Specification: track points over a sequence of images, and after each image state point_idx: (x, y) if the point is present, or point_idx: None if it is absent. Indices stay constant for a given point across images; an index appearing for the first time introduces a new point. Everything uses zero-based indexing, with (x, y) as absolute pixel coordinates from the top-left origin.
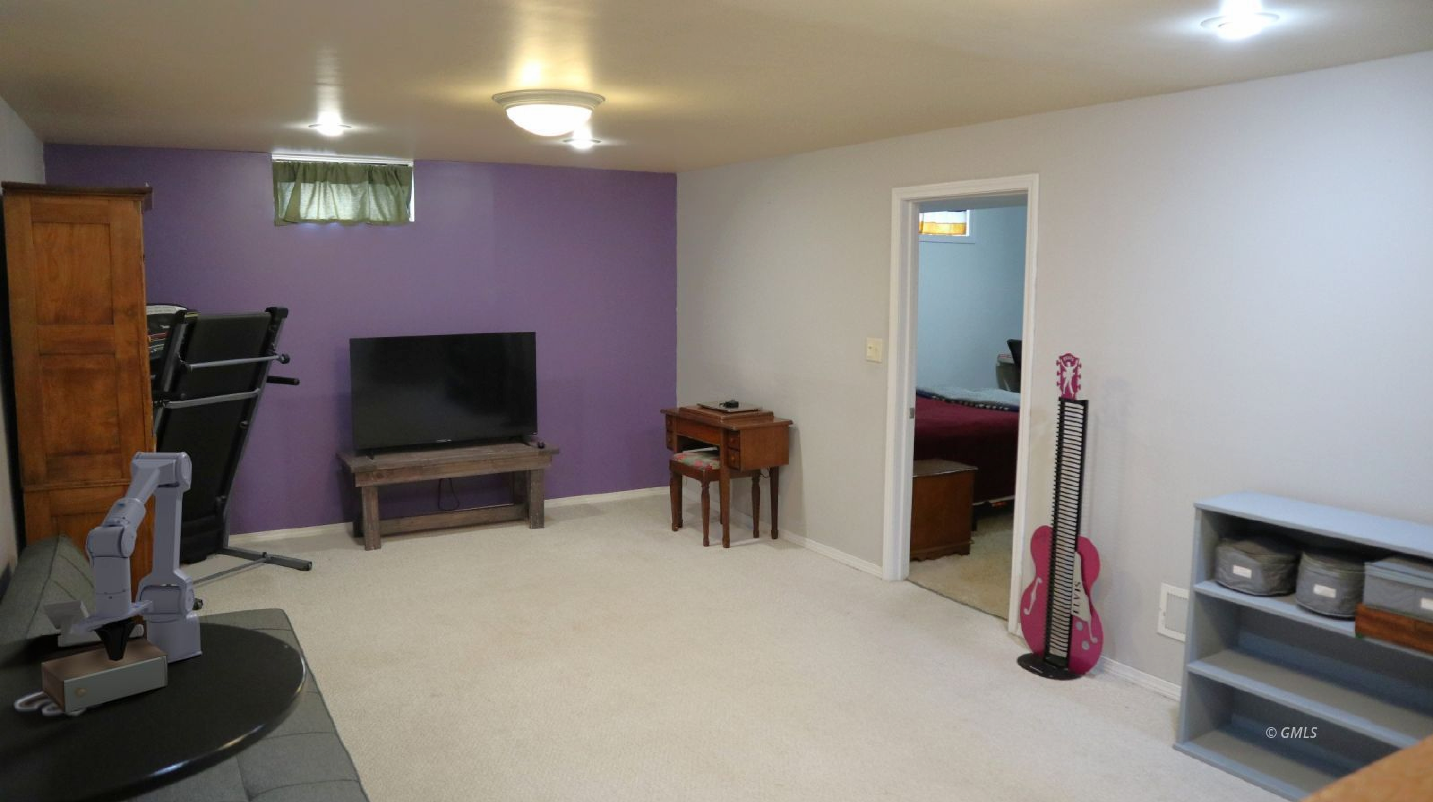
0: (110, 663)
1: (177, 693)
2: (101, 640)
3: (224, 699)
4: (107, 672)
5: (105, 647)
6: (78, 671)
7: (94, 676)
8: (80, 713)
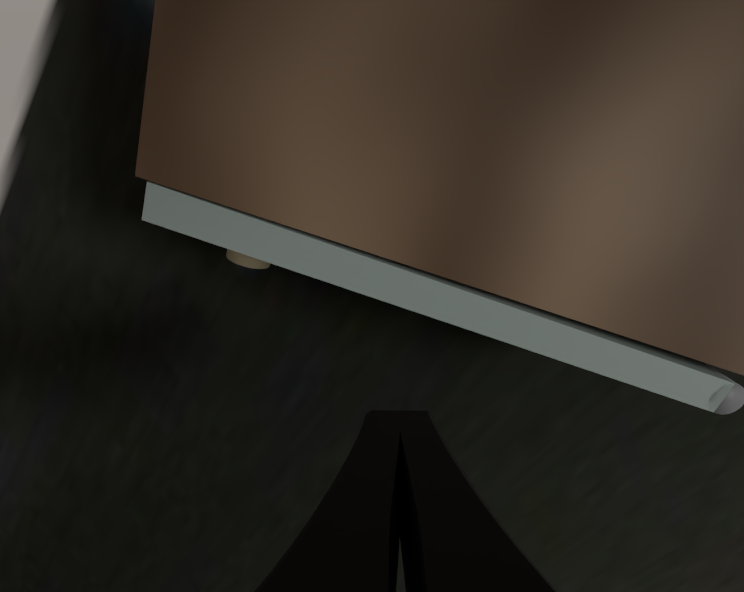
0: (512, 182)
1: (564, 419)
2: (273, 568)
3: (573, 574)
4: (391, 302)
5: (333, 490)
6: (296, 109)
7: (316, 276)
8: None
